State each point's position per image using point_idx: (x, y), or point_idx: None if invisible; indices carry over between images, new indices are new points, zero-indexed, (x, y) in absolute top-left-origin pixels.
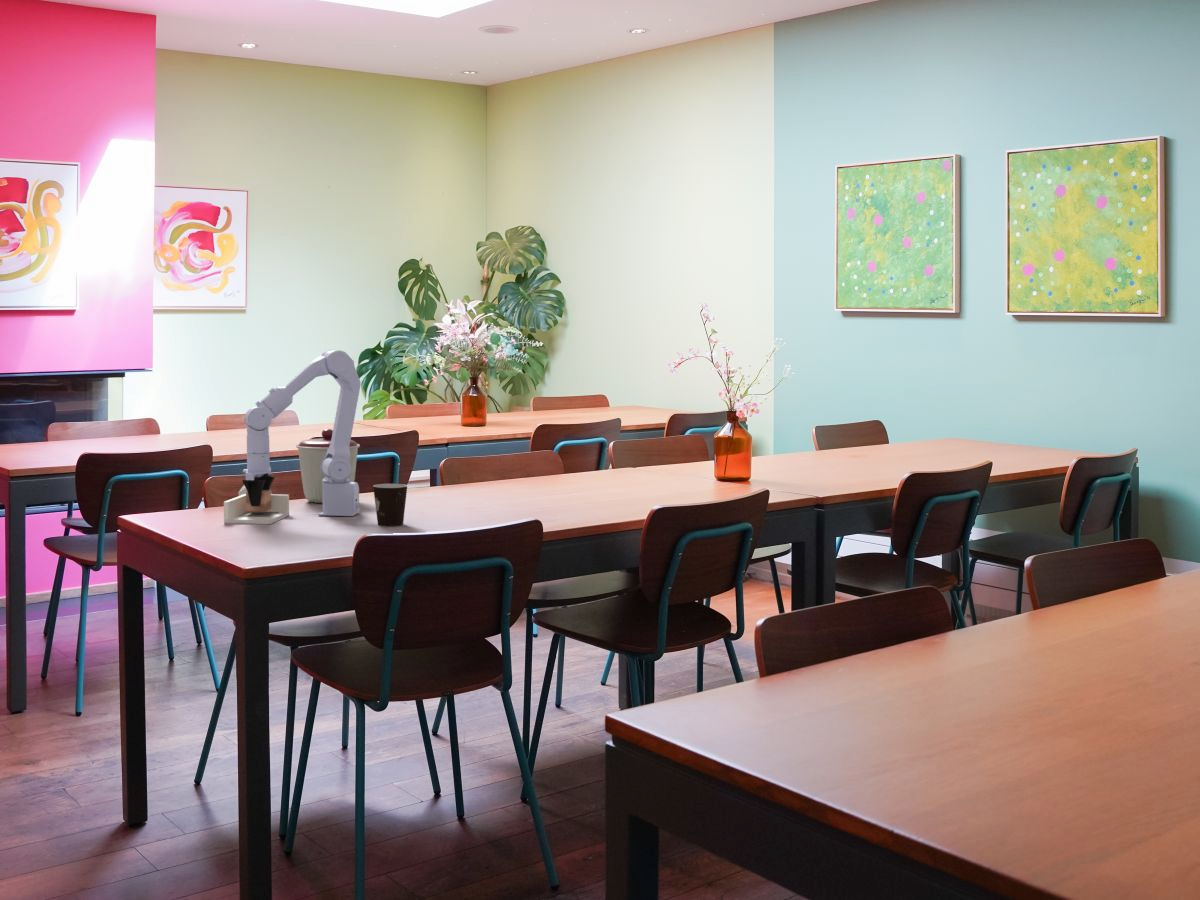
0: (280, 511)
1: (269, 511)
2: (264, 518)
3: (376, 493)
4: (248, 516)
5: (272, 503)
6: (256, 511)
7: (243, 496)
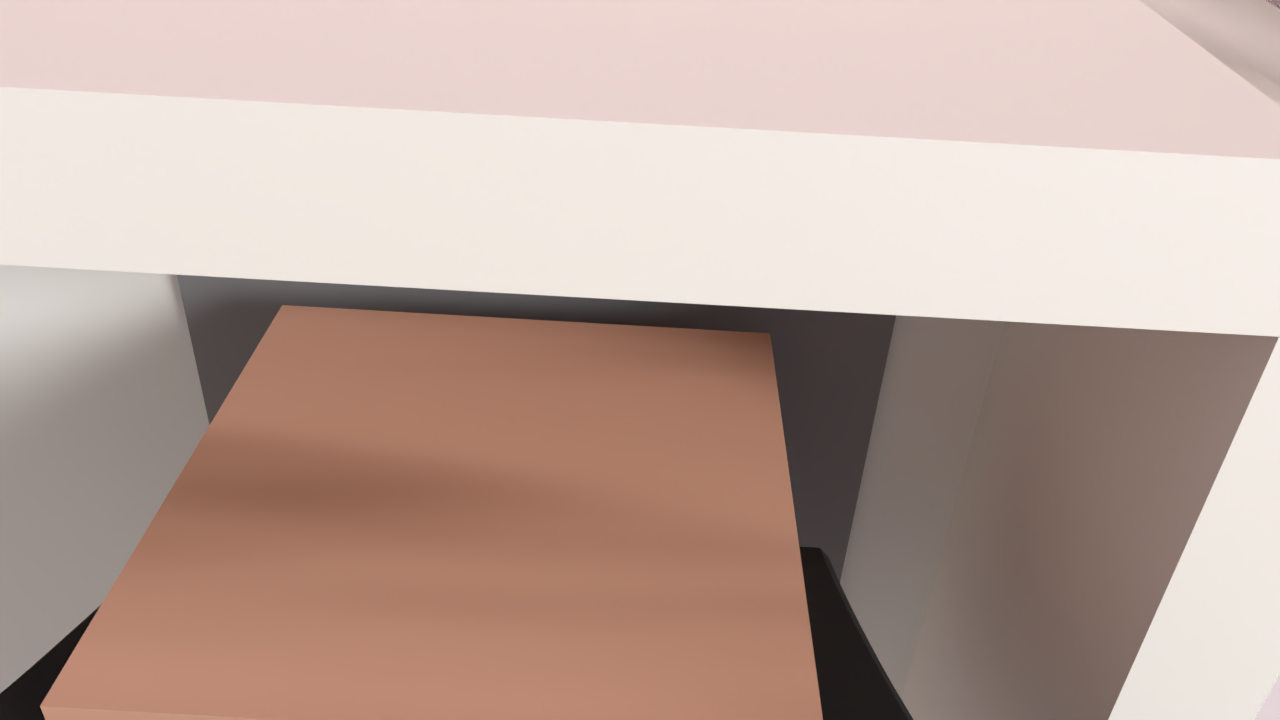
0: (903, 691)
1: (947, 534)
2: (69, 619)
3: None
4: (195, 326)
5: (976, 714)
6: (885, 333)
7: (762, 302)
